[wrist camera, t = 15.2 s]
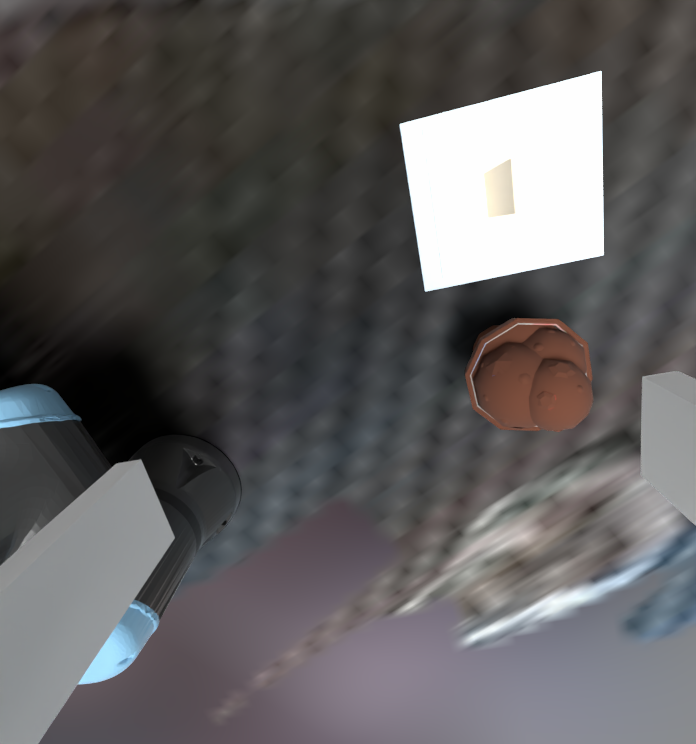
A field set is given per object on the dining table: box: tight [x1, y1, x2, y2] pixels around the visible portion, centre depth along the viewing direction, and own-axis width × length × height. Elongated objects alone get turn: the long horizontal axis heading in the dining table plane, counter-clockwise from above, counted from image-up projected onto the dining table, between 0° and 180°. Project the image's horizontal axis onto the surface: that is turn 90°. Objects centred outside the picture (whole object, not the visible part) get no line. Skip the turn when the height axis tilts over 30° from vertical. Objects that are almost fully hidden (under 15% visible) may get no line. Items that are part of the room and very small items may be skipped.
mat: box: [399, 71, 604, 292], centre depth 39 cm, size 18×16×1 cm
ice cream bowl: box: [465, 318, 593, 432], centre depth 37 cm, size 11×11×15 cm
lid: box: [422, 88, 586, 279], centre depth 35 cm, size 14×14×9 cm
